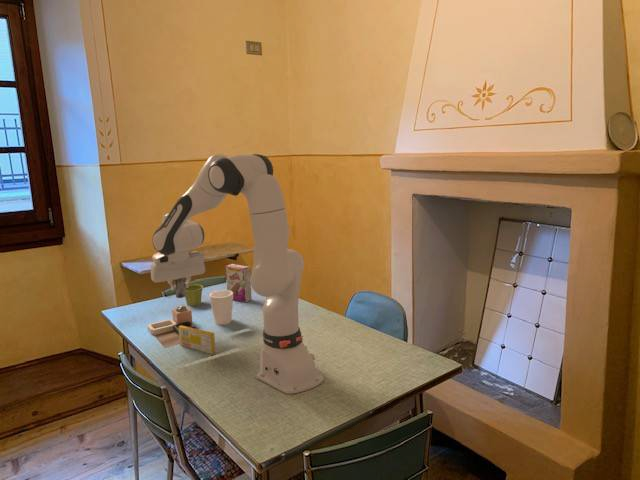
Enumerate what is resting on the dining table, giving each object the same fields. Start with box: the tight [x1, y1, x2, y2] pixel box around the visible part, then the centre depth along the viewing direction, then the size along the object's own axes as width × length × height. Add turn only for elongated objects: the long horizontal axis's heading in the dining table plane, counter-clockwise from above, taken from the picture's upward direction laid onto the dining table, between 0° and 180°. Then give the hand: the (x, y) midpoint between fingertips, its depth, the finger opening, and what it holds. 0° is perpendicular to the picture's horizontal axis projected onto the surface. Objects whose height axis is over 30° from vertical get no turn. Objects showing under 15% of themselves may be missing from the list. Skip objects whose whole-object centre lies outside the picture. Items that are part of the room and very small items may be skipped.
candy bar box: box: [225, 263, 253, 304], centre depth 220 cm, size 11×5×16 cm, turn 58°
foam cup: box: [208, 289, 234, 326], centre depth 192 cm, size 10×9×13 cm
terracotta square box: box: [171, 305, 194, 325], centre depth 191 cm, size 6×6×6 cm
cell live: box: [174, 277, 186, 299], centre depth 181 cm, size 4×4×8 cm
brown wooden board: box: [152, 321, 199, 349], centre depth 184 cm, size 22×16×3 cm
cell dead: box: [176, 305, 186, 313], centre depth 191 cm, size 4×4×8 cm
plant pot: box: [184, 284, 204, 307], centre depth 215 cm, size 9×9×9 cm
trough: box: [146, 318, 177, 336], centre depth 187 cm, size 8×10×2 cm
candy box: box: [178, 325, 216, 357], centre depth 169 cm, size 16×2×8 cm, turn 60°
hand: (180, 288), depth 182 cm, fingers closed on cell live, 4 cm apart
